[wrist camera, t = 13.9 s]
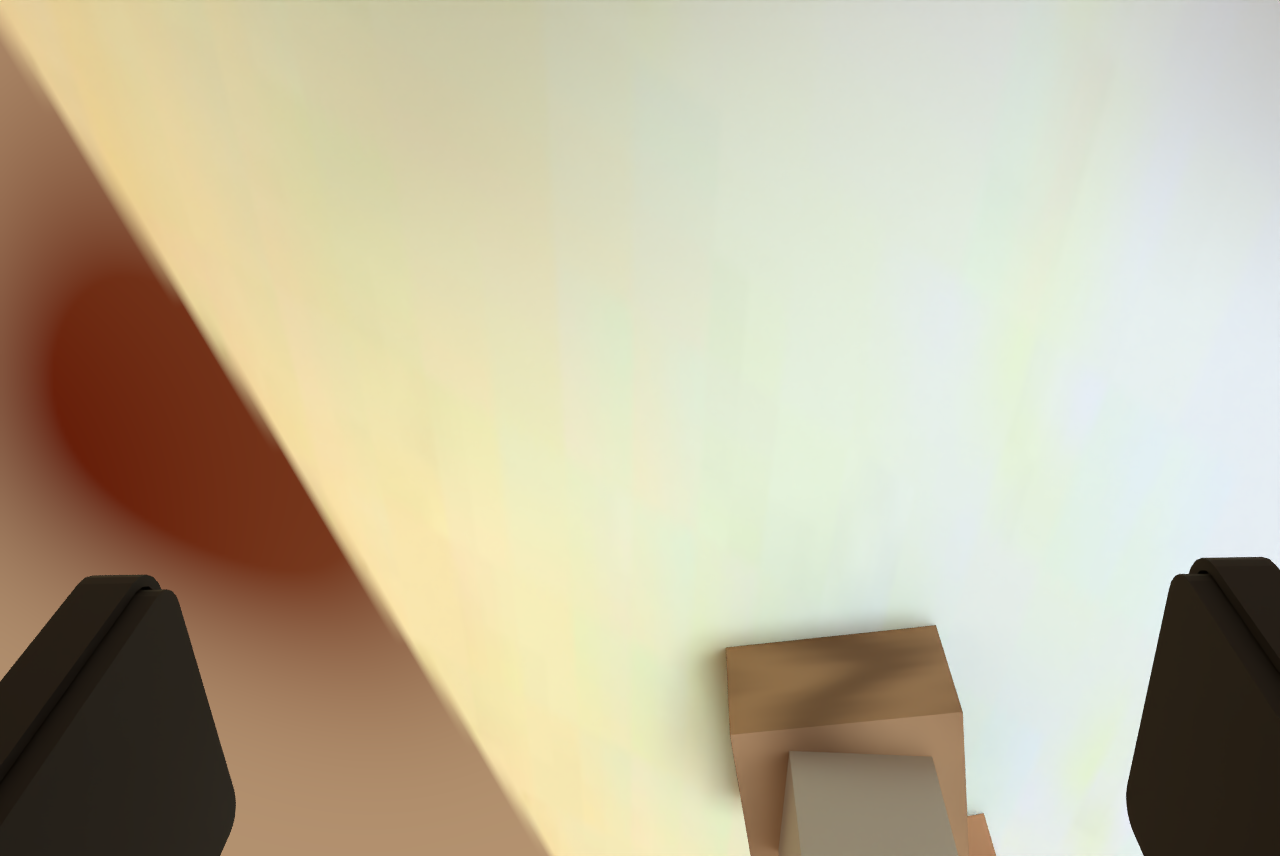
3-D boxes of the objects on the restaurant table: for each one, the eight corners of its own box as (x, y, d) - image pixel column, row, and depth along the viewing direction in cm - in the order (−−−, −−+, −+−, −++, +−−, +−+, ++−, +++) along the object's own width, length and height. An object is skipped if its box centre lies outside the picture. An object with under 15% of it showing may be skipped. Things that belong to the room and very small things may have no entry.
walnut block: (934, 621, 43) (962, 711, 39) (943, 774, 47) (969, 873, 42) (725, 643, 44) (730, 735, 40) (750, 792, 48) (756, 891, 43)
